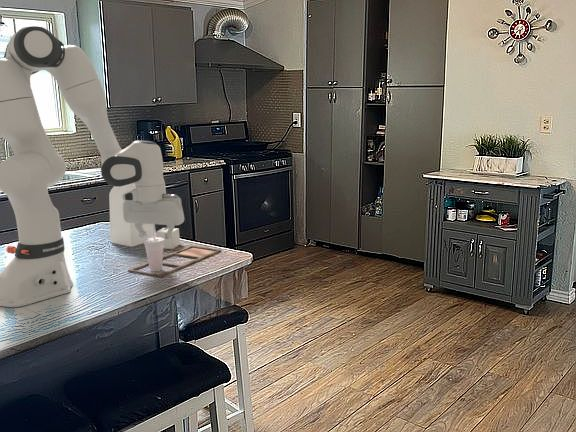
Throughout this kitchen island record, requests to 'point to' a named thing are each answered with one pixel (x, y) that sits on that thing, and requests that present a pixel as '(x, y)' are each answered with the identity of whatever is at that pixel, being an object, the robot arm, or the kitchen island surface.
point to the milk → (118, 226)
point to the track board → (188, 252)
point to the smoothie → (154, 251)
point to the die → (169, 242)
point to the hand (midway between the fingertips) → (155, 237)
